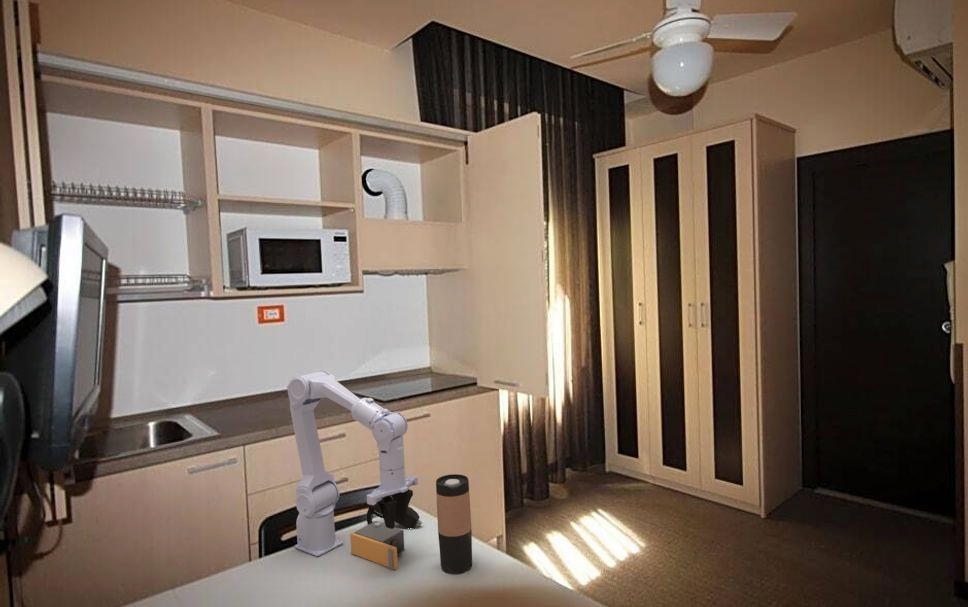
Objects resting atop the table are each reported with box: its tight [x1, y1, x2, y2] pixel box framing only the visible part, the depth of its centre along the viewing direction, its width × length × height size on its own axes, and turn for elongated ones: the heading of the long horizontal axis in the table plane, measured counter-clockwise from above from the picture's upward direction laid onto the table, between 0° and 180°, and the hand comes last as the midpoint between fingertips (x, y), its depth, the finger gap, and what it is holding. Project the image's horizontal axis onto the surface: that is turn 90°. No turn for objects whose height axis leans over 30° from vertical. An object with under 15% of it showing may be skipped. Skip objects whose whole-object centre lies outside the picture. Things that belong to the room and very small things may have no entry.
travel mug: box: [435, 473, 473, 575], centre depth 123 cm, size 8×8×20 cm
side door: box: [349, 532, 399, 570], centre depth 127 cm, size 15×1×5 cm, turn 54°
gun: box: [366, 491, 423, 530], centre depth 146 cm, size 3×16×10 cm, turn 79°
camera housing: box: [353, 521, 405, 556], centre depth 132 cm, size 12×7×6 cm, turn 54°
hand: (395, 524), depth 125 cm, fingers open, 3 cm apart
